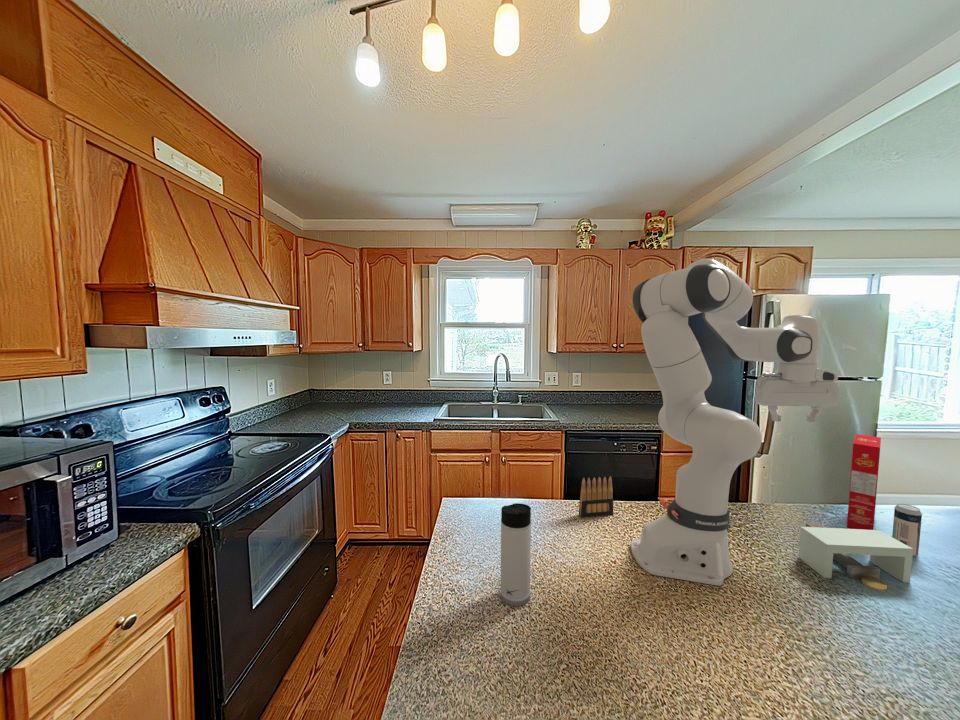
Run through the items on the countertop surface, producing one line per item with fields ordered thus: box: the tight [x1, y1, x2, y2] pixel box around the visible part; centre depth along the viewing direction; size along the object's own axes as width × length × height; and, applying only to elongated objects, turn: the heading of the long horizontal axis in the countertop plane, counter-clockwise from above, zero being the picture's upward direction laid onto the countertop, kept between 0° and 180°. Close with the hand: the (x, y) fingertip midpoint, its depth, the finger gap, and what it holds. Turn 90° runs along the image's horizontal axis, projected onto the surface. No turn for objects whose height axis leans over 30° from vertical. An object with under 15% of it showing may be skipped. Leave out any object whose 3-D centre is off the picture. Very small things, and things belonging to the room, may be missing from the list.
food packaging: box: [846, 433, 882, 530], centre depth 112 cm, size 15×5×25 cm, turn 133°
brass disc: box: [860, 576, 888, 592], centre depth 84 cm, size 4×4×1 cm
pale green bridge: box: [798, 526, 914, 584], centre depth 90 cm, size 18×8×8 cm, turn 85°
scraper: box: [805, 522, 881, 580], centre depth 94 cm, size 6×16×5 cm, turn 175°
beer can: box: [891, 503, 923, 557], centre depth 97 cm, size 5×5×12 cm
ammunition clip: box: [578, 475, 614, 518], centre depth 116 cm, size 11×2×12 cm, turn 100°
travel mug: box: [500, 502, 532, 607], centre depth 80 cm, size 6×7×20 cm
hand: (793, 421), depth 108 cm, fingers open, 8 cm apart
